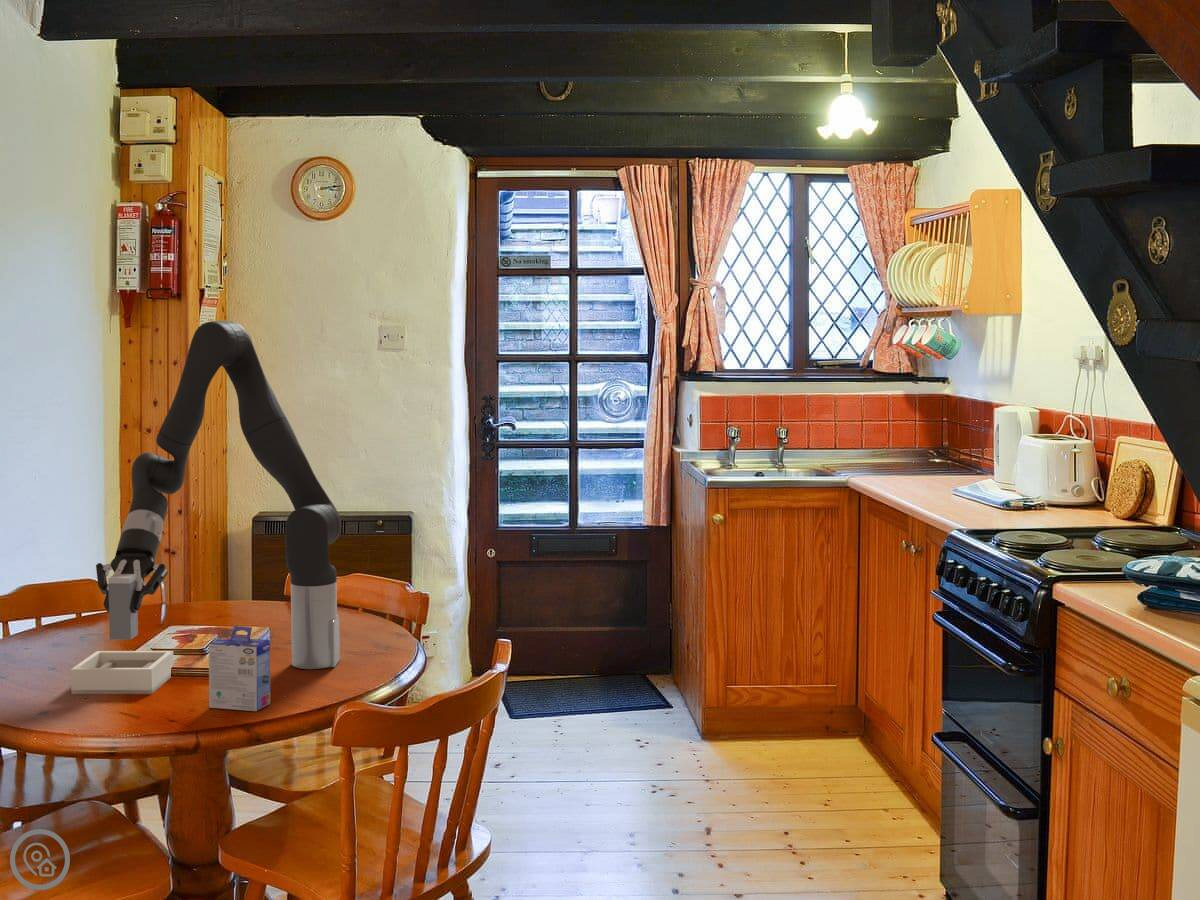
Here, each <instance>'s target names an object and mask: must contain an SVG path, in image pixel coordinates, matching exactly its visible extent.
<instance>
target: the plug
mask: <svg viewBox="0 0 1200 900" xmlns="http://www.w3.org/2000/svg"><path fill="white" fill-rule="evenodd" d="M136 578H137V574H115V575H111V576H110V577H109V576H108V578H107V585H108V588H109V613H108V614H109V617H108V621H109V624H108V626H109V640H119V641H121V640H123V641H124V640H133V639H134V638H135V637H136V636H138V635H139V625H138V624H139V619H138V618H139V617H138V610H137V611H136V613H132V612H131V610H130V604H131V601H132V597H133V593H134V592H135V591H136V588H135V585H136Z"/></svg>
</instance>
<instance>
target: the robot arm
mask: <svg viewBox="0 0 1200 900" xmlns="http://www.w3.org/2000/svg"><path fill="white" fill-rule="evenodd" d="M184 363H185V364H184V367H183V370H182V373H181V376H180V380H179V383H178V387H177V390H176V392H175V396H174V398H173V400H172V402H171V405H170V408H169V410H168V412H167V414H166V416H165V417H164V419H163V422H162V424H161V427H160V429H159V430H158V433H157V435H156V438H155V441H156V444H157V446H158V447H159V448H160V449H162V450H163V451H165V452H167V453H168V454H169V455H170V456H172V458H173V459H169V458H165V457H163V456H160V455H157V454H154V453H151V452H143V453H141V454H139V455H138V456H137V457H136V458H135V459H134V461H133V463H132V466H131V485H132V499H131V504H130V508H129V511H128V514H127V518H126V519H125V520H124V521H125V522H124V524H123V526H122V531H121V534H120V538H119V541H118V544H117V548H116V551H115V556H114V558H113V559H112V560H111V561H110V563H107V564H102V563H101V562H98V563H96V565H95V570H96V579H97V587H98V588H99V590H100V592H101V594H102V595H105V598H104V601H103V608H104V609H105V611H106V612H107V613H108V614H109V588H108V578H107V577H109V575H110V571H113V575H115V574H137V578H136V585H135V588H136V591H135V592H134V593H133V597H132V601H131V604H130V610H131V612H132V613H136V611H137V612H138V611H139V610H140V609H141V607H142V603H143V599H144V597H145V596H146V595H150V596H152V595H155V594H156V592H157V590H158V589H159V587H160V586H161V584H162V583H163V581H164V579H165V578H166V577H167V575H168V570H167V567H166V565H165V564H164V563H159V564H157V563H156V562H155V561H156V559H157V555H158V551H159V546H160V543H161V540H162V537H163V531H164V530H163V529H164V522H165V519H166V515H167V511H168V507H169V501H168V499H167V497H166V496H165V495H173V494H176V493H177V492H179V491H180V489H181V488H182V486H183V484H184V480H185V474H186V466H187V461H188V456H189V453H190V449H191V447H192V445H193V442H194V441H195V439H196V437H197V434H198V432H199V430H200V428H201V426H202V422H203V419H204V415H205V408H206V407H205V405H206V399H207V394H208V393H207V392H208V389H209V386H210V384H211V382H212V380H213V378H214V377H215V375H216V373H218V371H219V369H220V368H221V367H223V370H224V371H225V372H226V374H227V376H228V377H229V379H230V381H231V383H232V385H233V388H234V390H235V393H236V397H237V403H238V415H239V424H240V428H241V431H242V434H243V436H244V438H245V441H246V442H247V444H248V446H249V448H250V450H251V452H252V454H253V457H254V458H255V459H256V461H257V462H258V463H259V464H260V465H261V466H262V467H263V468H264V470H265V471H266V472H267V473H268V474H269V475H270V476H271V477H272V478H273V479H274V480H275V481H276V482H277V483H278V484H279V485H280V486H281V487H282V488H283V490H284V492H285V493H286V495H287V497H288V498H289V500H290V502H291V505H292V506H293V508H294V510H293V511H292V512H290V514H289V515H288V517H287V519H286V521H285V527H284V546H285V561H286V562H285V563H286V568H287V571H288V573H289V576H290V615H291V616H290V618H291V619H290V620H291V621H290V622H291V629H290V630H291V632H290V633H291V665H292V666H293V667H294V668H297V669H302V670H318V669H319V670H320V669H326V668H335V667H336V666H337V664H338V663H339V661H340V660H341V656H340V654H341V652H340V651H341V649H340V648H341V647H340V641H341V640H340V637H341V636H340V615H339V614H338V599H337V597H338V594H337V593H338V589H337V588H338V581H337V568H336V567H335V566H334V565H332V564H331V562H330V558H329V557H330V555H329V545H331V544H334V542H336V540H338V539H339V537H340V535H341V532H342V519H341V516H340V513H339V512H338V510H337V509H336V507H335V505H334V504H333V502H332V500H331V498H330V497H329V496H328V494H327V492H326V491H325V490H324V488H323V487H322V485H321V483H320V480H319V479H318V478H317V477H316V474H315V473H314V471H313V469H312V467H311V465H310V463H309V460H308V458H307V457H306V455H305V453H304V451H303V448H302V447H301V445H300V442H299V441H298V439H297V436H296V434H295V431H294V430H293V427H292V426H291V424H290V422H289V420H288V418H287V416H286V414H285V412H284V410H283V409H282V407H281V405H280V403H279V401H278V398H277V397H276V395H275V393H274V390H273V389H272V387H271V385H270V383H269V381H268V379H267V378H266V375H265V372H264V370H263V367H262V365H261V362H260V359H259V356H258V354H257V351H256V350H255V346H254V344H253V341H252V339H251V336H250V335H249V333H248V331H247V330H246V329H245V328H244V327H243V325H241V324H239V323H238V322H235V321H232V320H213V321H207V322H204V323H202V324H200V326H198V327H197V329H196V330H195V332H194V334H193V336H192V338H191V341H190V345H189V349H188V352H187V356H186V359H185V362H184ZM151 573H153V574H152V575H151V577H150V578H149V579H148V581H147V582H146V578H147V577H148V576H149V575H150V574H151ZM113 575H112V576H113Z"/></svg>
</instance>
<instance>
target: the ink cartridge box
mask: <svg viewBox="0 0 1200 900" xmlns="http://www.w3.org/2000/svg"><path fill="white" fill-rule="evenodd" d="M252 629H253V627H249V626H236V625H235V626H234V627H233V630H232V632H231V637H221V638H218V639H216V640H214V641H212V642H210V643H209V644H208V686H209V688H208V692H209V693H208V694H209V695H208V698H209V699H208V700H209V701H208V702H209V704H208V708H210V709H221V710H222V709H223V710H232V711H233V710H235V711H246V712H247V711H248V712H259V710H261V709H264V708H265V707H267V706H270V705H271V698H272V697H271V654H270V653H271V652H270V651H271V650H270V649H271V644H270V642H271V640H270V639H260V638H259V639H258V638H257V639H256V638H251V634H252ZM239 631H243V632H246V633H247V634H237V633H236V632H239Z"/></svg>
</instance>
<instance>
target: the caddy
mask: <svg viewBox="0 0 1200 900" xmlns="http://www.w3.org/2000/svg"><path fill="white" fill-rule="evenodd" d="M174 661H175V659H174V650H96V651H95V652H94V653H92V654H91V655H89V656H88V657H86V658H85V659H84V660H82V661H81V662H79V663H78V664H77V665H75V666H73V667H72V668H71V669H70V683H71V684H70V685H71V695H154V694H155V692H156V691H157V690H158V689H160V688H161V687H162V686H163V685H165V683H166V682H167V681H169V680H170V679H171V678H172V677H171V668H172V666H173V665H175V664H174Z"/></svg>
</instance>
